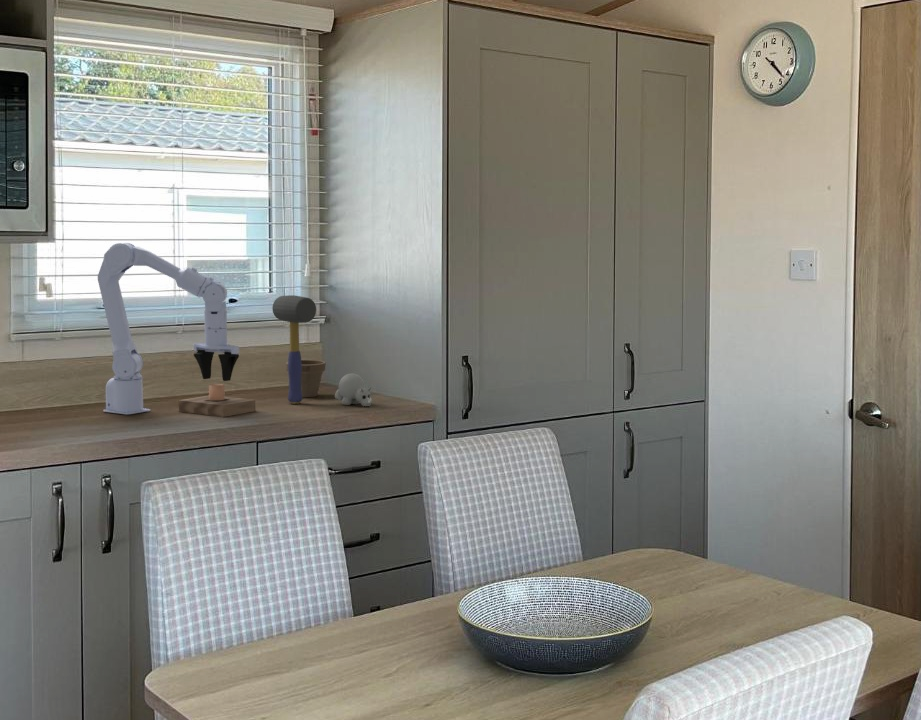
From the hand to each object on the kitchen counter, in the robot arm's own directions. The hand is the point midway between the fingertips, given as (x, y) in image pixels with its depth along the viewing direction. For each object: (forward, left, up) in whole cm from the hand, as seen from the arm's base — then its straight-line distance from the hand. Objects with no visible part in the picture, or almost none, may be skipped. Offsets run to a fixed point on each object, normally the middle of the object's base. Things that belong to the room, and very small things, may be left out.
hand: (216, 379), depth 298 cm
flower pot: (+1, +35, -9) cm, 36 cm away
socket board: (0, 0, -8) cm, 8 cm away
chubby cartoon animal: (+24, +29, -9) cm, 38 cm away
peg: (0, 0, -8) cm, 8 cm away
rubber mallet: (+8, +22, -9) cm, 25 cm away
